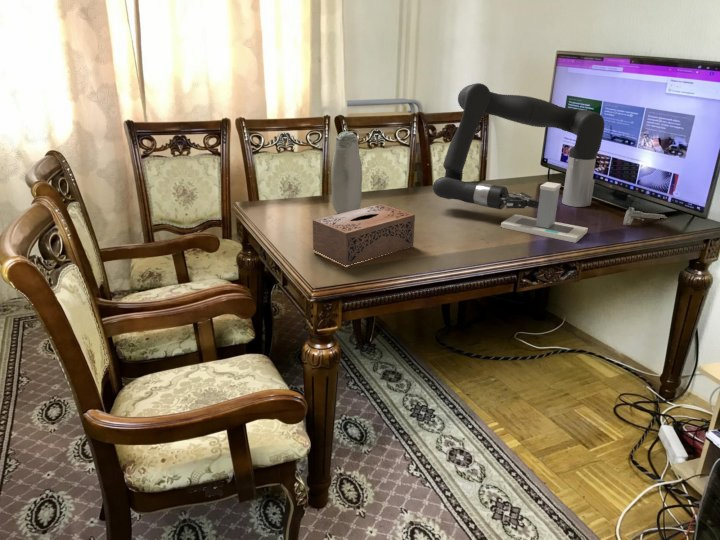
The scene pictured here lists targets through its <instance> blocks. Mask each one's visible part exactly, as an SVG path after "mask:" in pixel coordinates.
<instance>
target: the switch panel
mask: <svg viewBox="0 0 720 540" xmlns="http://www.w3.org/2000/svg"><path fill="white" fill-rule="evenodd" d="M536 221H537V217H531V216H527V215H521V214H516V213H515V214H513V215H512V216H510V217H508V218H507V219H505V220H503V221H502V222H501V223H500V228H501V227H502V229H506V230H512V231H516V232H521V233H526V234H530V235H536V236H541V237H545V238H550V239H556V240H560V241H566V242H568V243H569V242H571V243H574V244H576V243H577V242H578V241H579V240H581V239H582V238H583V237H584V236H585V235H586V234H587V233H588V229H589V227H584V226H579V225H574V224H568V223H563V222H557V221H555V224H553V225H552V226H551V227H549V228H544V227H539V226H536Z"/></svg>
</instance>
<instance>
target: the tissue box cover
mask: <svg viewBox="0 0 720 540" xmlns="http://www.w3.org/2000/svg"><path fill="white" fill-rule="evenodd" d="M415 221H416V215H415V214H414V213H411V212H407V211H405V210H401V209H397V208H395V207H392V206H389V205H386V204H383V203H378V204H375V205H369V206H366V207H362V208H359V209H357V210H353V211H348V212H344V213H340V214H338V213H337V214H333V215H328V216H324V217H319V218H316V219H313V220H312V251H313V250H315V251H317V252H319V253H321V254H323V255H325V256H327V257H329V258H331V259H333V260H335V261H337V262H339V263H341V264H343V265H345V266H346V265H351V264H354V263H357V262H361V261H365V260H368V259H371V258H375V257H378V256H381V255H385V254H388V253H391V252H395V251H398V250H401V251H403V250H402V249H404V250H406V249H405V248H407V249H409V248H408V247H411V248H413V247H414V240H415V239H414V238H415ZM412 246H413V247H412ZM398 252H399V251H398ZM395 253H396V252H395ZM388 255H389V254H388ZM385 256H386V255H385Z"/></svg>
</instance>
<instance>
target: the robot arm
mask: <svg viewBox="0 0 720 540" xmlns="http://www.w3.org/2000/svg"><path fill="white" fill-rule="evenodd" d="M457 102H458V105H459V107H460V108H461V109H462V110H463V112H462V116H461V119H460V123H459V124H458V127H457V129H456V131H455V133H454V135H453V137H452V139H451V141H450V143H449V146H448V149H447V152H446V155H445V156H444V157H445V159H444V162H443V168H444V170H445V172H444V173H445V174H444V176H441V177H438V178H437V179H436V180H435V181H434V182H433V184H432V185H433V186H432V190H433V192H434V194H435V195H436V197H439V198H442V199H447V200H457V201H458V200H459V201H461V202H465V203H468V204H474V205H477V206H481V207H485V208H491V209H496V210H503V209H504V208H505V207H506V209H525V208H533V209H534V208H535V209H538V206H539V199H533V196H531V195H529V194H526V193H524V192H519V193H520V194H519V193H517V192H511V193H509V191H508V188H507V187H506V186H502V185H496V184H491V183H480V182H473V181H465V180H464V181H463V170H464V168H465V165H466V161H467V158H468V154H469V152H470V149H471V146H472V143H473V140H474V137H475V134H476V132H477V129H478V127H479V124H480V122H481V120H482V118H483V117H484V115H490V116H494V117H499V118H501V119H504V120H507V121H510V122H514V123H519V124H521V125H526V126H530V127H537V128H554V129H559V130H562V131H565V132H568V133H571V134H573V135H575V136H576V138H575V144H574V146H572V147H571V148H570V149H569V153H568V160H567V165H566V173H565V180H564V187H563V192H562V199H561V203H562V204H563V205H566V206H569V207H576V208H582V207H583V208H585V207H588V206H589V207H590V206H591V204H592V198H593V194H594V193H593V192H594V186H595V179H593V178H594V172H595V167H596V160H597V156H598V155H597V154H598V153H599V151H600V149H601V145H602V140H603V136H604V131H605V120H604V117H603V116H602V115H601V114H600V113H598V112H595V111H592V110H589V109H577V108H569V107H564V106H560V105H557V104H555V103H553V102H550V101H547V100H544V99H541V98H537V97H532V96H529V95H528V96H527V95H518V94H501V93H495V92H493V91H490V89H489V87H488V86H487V85H485V84H484V83H478V82H476V83H472V84H469V85H466V86H465V87H463V88H462V89H461V90H460V92H459V93H458V96H457Z"/></svg>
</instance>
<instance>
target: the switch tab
mask: <svg viewBox="0 0 720 540" xmlns="http://www.w3.org/2000/svg"><path fill="white" fill-rule="evenodd" d="M561 187H562V183H557V182H550V181H546V182H544V183H542V184H541V185H540V187H539V189H540V192H539V199H538V200H539V206H538V208H537V214H536V218H537V221H536V226H539V227H544V228H549V227H551V226H552V225H553V224H555V222H556V215H557V209H558V208H557V207H558V201H559V196H560V190H561V189H560V188H561Z"/></svg>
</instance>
